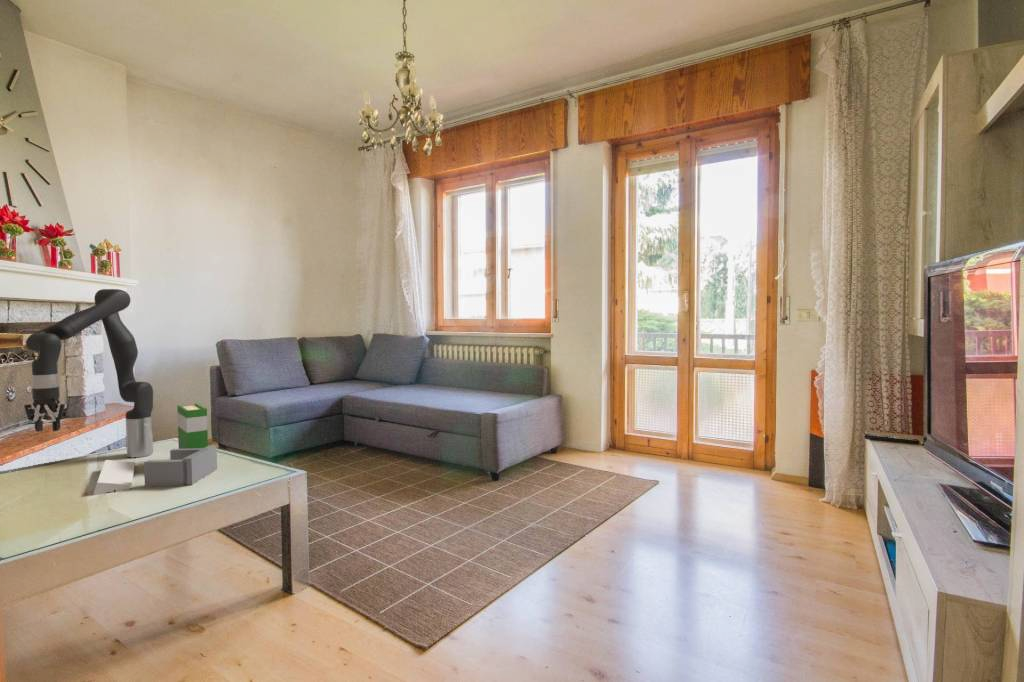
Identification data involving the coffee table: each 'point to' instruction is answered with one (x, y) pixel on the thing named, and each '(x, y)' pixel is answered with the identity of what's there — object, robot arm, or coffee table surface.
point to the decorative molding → (115, 476)
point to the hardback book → (192, 426)
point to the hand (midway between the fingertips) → (47, 430)
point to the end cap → (181, 467)
